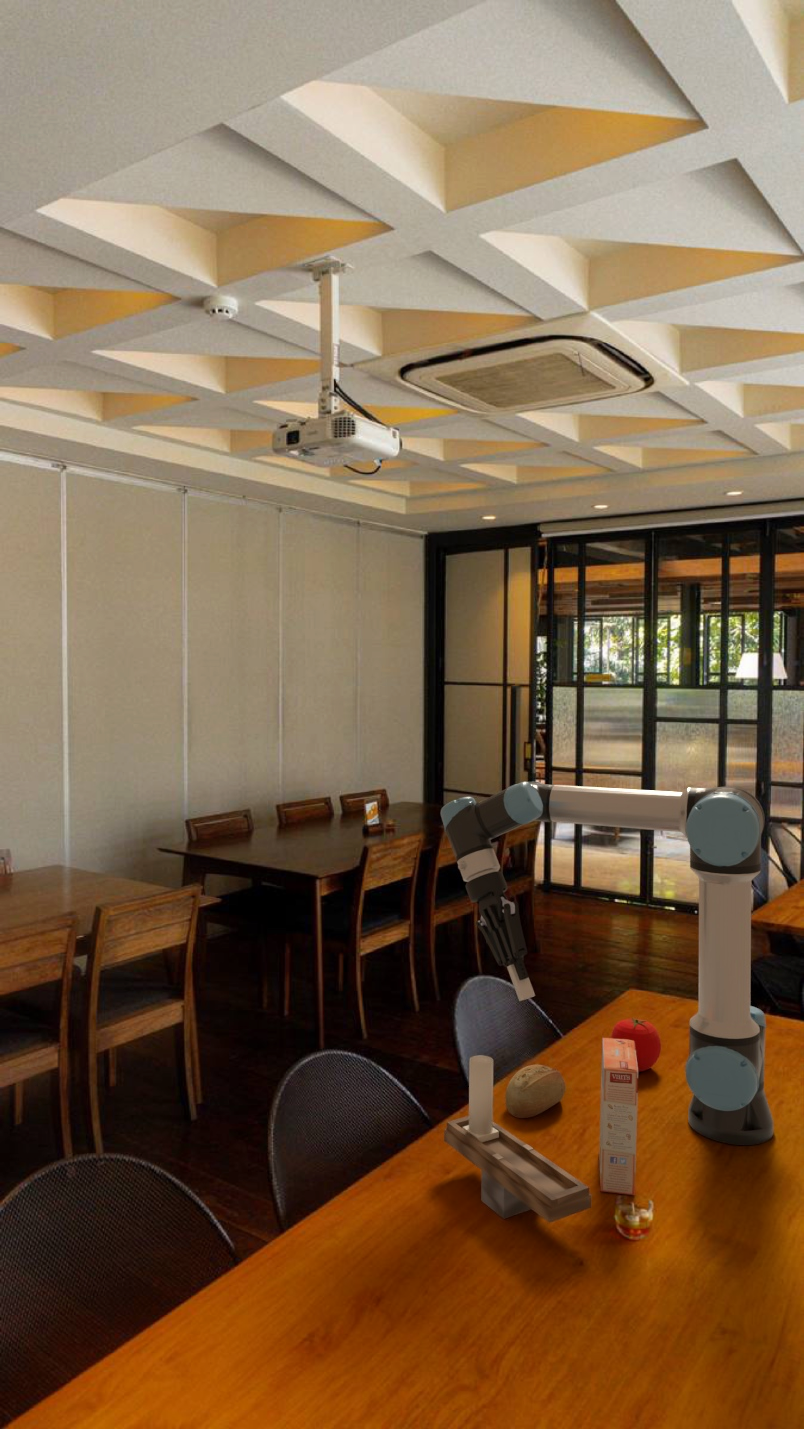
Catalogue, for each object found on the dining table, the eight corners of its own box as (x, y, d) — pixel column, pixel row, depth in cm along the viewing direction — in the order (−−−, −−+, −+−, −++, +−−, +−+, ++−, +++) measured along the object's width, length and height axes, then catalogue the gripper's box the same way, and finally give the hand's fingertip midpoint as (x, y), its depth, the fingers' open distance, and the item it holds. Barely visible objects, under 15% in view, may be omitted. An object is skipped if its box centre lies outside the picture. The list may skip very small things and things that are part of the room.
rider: (498, 1137, 158) (499, 1062, 158) (477, 1143, 156) (478, 1067, 155) (483, 1126, 162) (484, 1053, 161) (462, 1132, 160) (463, 1058, 159)
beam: (590, 1240, 141) (591, 1185, 141) (548, 1256, 137) (549, 1200, 137) (482, 1157, 165) (482, 1111, 165) (443, 1169, 161) (444, 1121, 161)
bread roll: (578, 1102, 188) (578, 1063, 187) (536, 1129, 176) (536, 1087, 176) (537, 1088, 194) (537, 1050, 194) (494, 1113, 183) (494, 1072, 182)
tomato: (598, 1066, 205) (599, 1017, 205) (630, 1054, 212) (631, 1007, 211) (637, 1082, 197) (638, 1031, 196) (669, 1070, 203) (670, 1021, 203)
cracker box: (637, 1197, 153) (639, 1070, 152) (599, 1193, 154) (601, 1067, 154) (633, 1155, 167) (635, 1038, 166) (599, 1151, 168) (600, 1035, 167)
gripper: (451, 891, 184) (494, 1011, 176) (481, 870, 174) (528, 996, 166) (483, 882, 188) (526, 1000, 180) (514, 861, 177) (561, 985, 169)
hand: (527, 998), depth 173 cm, fingers closed
